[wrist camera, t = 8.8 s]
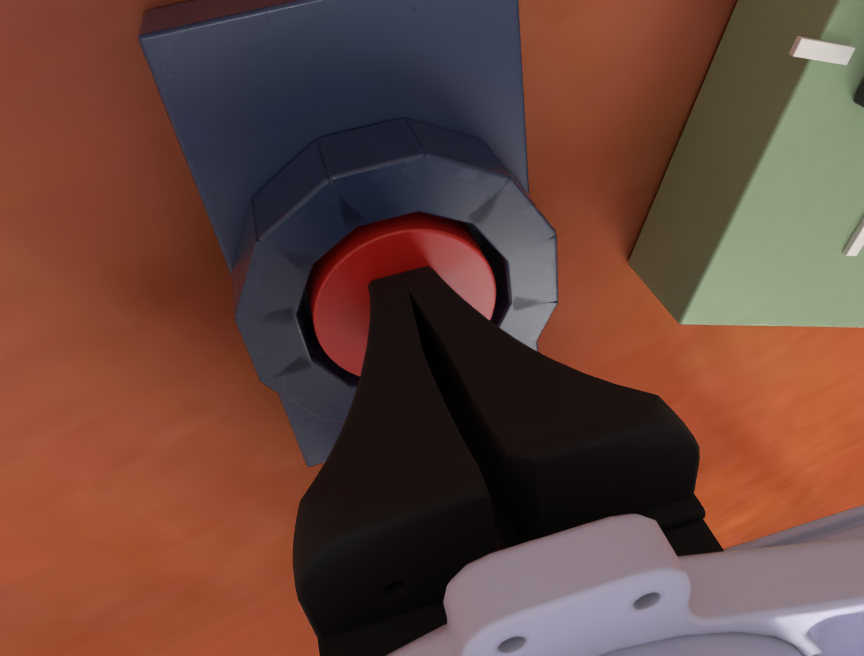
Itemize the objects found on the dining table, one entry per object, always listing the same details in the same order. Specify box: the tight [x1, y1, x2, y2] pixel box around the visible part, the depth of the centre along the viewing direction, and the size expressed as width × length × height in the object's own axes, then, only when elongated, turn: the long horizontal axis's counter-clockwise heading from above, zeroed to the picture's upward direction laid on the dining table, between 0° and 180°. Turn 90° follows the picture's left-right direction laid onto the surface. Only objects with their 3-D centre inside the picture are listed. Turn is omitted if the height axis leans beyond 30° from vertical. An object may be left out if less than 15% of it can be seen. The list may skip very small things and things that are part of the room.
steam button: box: [306, 211, 496, 376], centre depth 16 cm, size 4×4×2 cm
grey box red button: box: [138, 0, 558, 467], centre depth 17 cm, size 12×7×4 cm, turn 8°
